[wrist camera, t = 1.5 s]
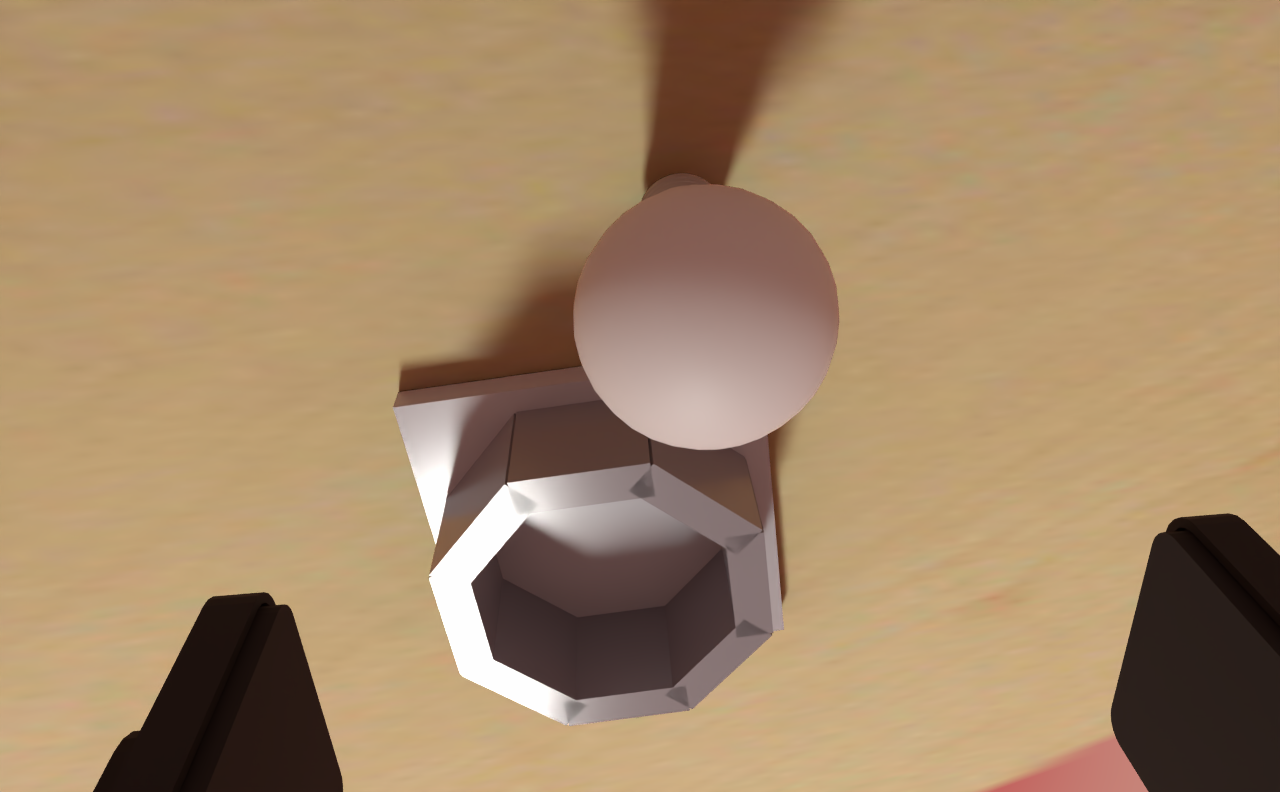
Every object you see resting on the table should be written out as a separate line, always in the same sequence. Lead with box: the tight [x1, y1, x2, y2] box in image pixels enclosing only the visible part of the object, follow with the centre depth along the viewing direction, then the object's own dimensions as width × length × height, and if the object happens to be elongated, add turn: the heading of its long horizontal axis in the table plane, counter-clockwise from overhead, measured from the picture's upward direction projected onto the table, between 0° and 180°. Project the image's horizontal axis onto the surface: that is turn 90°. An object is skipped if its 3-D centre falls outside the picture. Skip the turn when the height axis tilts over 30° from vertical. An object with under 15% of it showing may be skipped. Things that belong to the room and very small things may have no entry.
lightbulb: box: [573, 173, 839, 450], centre depth 24 cm, size 6×6×11 cm
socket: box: [393, 366, 784, 726], centre depth 33 cm, size 12×12×5 cm
